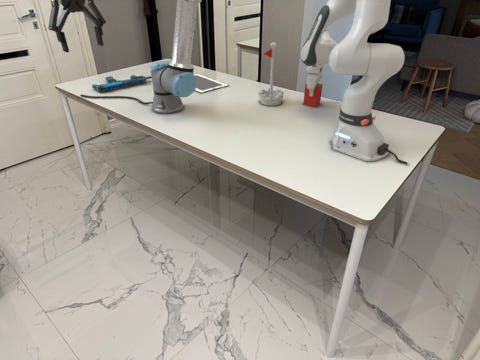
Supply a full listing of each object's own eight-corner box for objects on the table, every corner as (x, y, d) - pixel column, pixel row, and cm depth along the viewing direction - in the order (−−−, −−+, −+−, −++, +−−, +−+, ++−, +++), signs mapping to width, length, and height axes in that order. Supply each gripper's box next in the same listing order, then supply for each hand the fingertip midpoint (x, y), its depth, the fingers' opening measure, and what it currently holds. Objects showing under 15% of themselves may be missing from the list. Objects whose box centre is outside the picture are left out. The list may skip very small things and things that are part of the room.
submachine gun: (137, 69, 223) (155, 75, 206) (138, 75, 224) (156, 82, 208) (84, 79, 204) (100, 87, 187) (86, 86, 206) (101, 94, 189)
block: (308, 101, 181) (310, 81, 175) (320, 104, 177) (322, 84, 171) (303, 104, 177) (305, 84, 172) (315, 107, 174) (317, 86, 168)
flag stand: (276, 96, 187) (279, 38, 170) (287, 104, 177) (292, 43, 160) (254, 99, 183) (255, 40, 167) (264, 107, 173) (267, 45, 156)
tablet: (171, 80, 212) (171, 79, 212) (198, 74, 223) (197, 73, 223) (200, 93, 192) (200, 92, 192) (228, 85, 203) (228, 85, 203)
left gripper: (95, -21, 122) (108, 41, 134) (23, -18, 106) (45, 53, 117) (107, -21, 118) (119, 44, 130) (34, -17, 102) (55, 56, 113)
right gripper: (314, 59, 175) (311, 86, 183) (305, 70, 160) (302, 98, 167) (326, 60, 174) (322, 87, 181) (318, 71, 158) (315, 100, 165)
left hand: (84, 48), depth 124 cm, fingers open, 13 cm apart
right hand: (313, 92), depth 174 cm, fingers open, 8 cm apart
